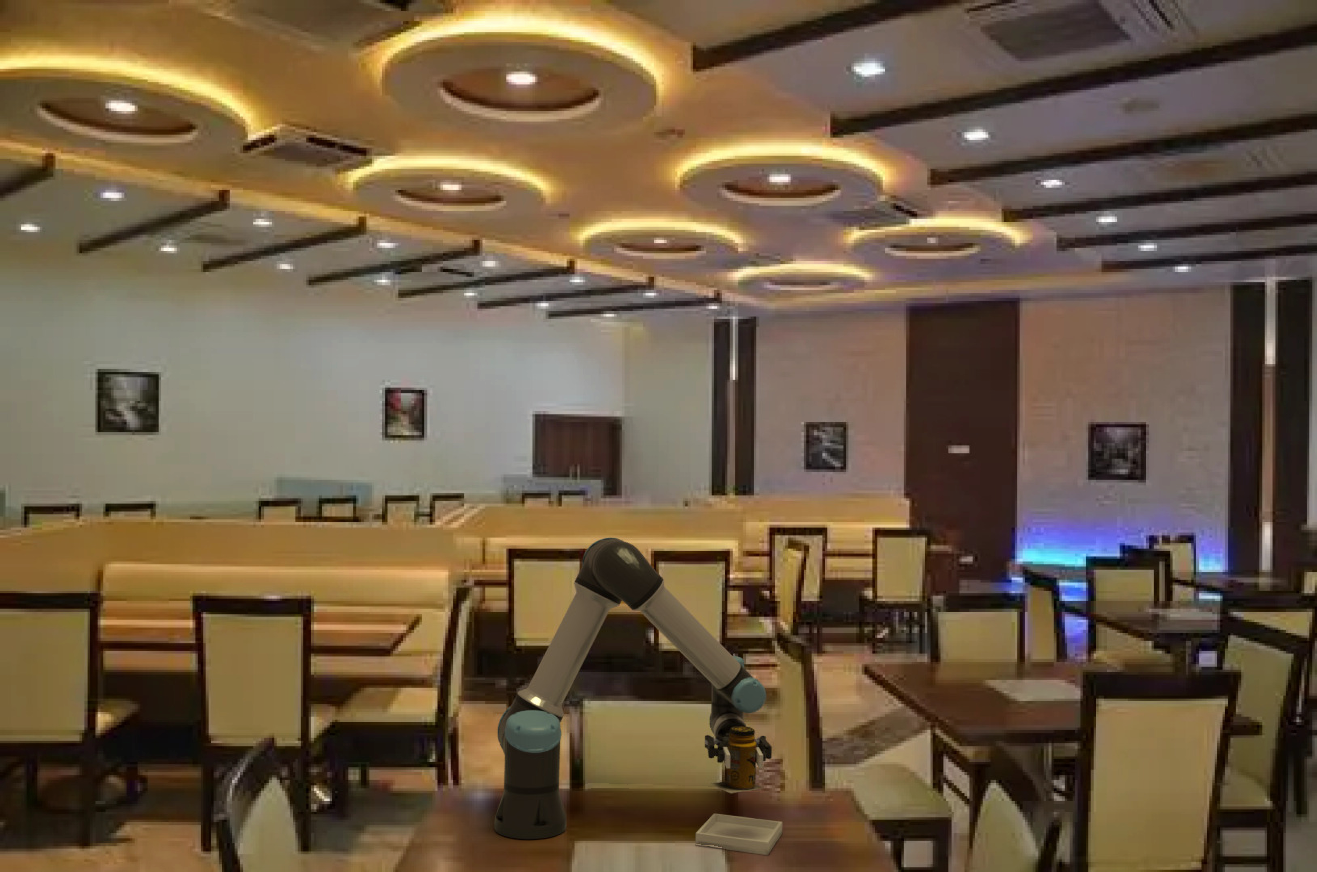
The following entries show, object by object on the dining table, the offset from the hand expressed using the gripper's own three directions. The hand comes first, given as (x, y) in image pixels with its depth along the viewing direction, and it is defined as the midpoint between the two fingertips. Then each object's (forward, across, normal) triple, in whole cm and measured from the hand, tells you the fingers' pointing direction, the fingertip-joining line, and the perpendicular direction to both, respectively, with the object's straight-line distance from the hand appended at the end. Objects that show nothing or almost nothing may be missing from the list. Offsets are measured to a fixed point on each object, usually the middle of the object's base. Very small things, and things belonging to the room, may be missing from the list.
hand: (744, 761), depth 224 cm
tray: (-5, 0, -17) cm, 18 cm away
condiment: (-5, +1, -7) cm, 8 cm away
